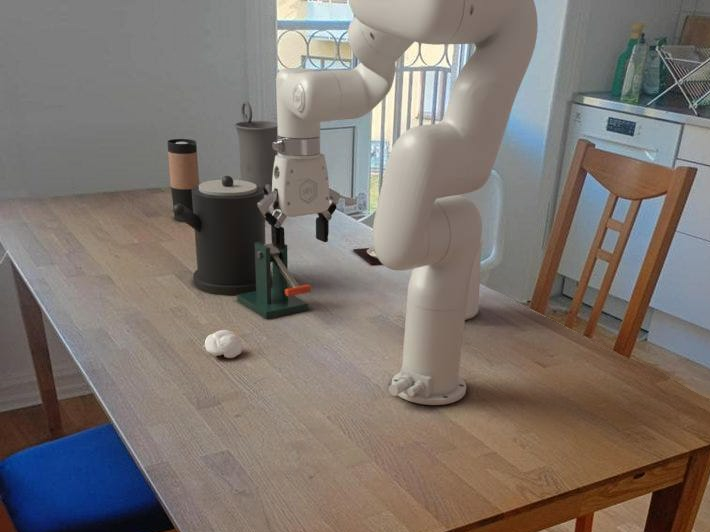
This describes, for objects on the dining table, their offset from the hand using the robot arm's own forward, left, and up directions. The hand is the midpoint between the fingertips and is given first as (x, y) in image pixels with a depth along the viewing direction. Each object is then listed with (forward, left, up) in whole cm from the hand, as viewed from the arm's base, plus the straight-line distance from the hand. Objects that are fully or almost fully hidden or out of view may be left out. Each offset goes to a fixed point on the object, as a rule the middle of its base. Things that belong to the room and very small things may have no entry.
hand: (300, 244), depth 148 cm
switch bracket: (+3, +10, -16) cm, 19 cm away
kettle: (+7, +29, -16) cm, 33 cm away
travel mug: (+39, +72, -16) cm, 84 cm away
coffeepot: (+24, -21, -16) cm, 36 cm away
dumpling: (-22, 0, -16) cm, 27 cm away
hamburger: (+48, +12, -16) cm, 52 cm away
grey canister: (+78, +81, -16) cm, 114 cm away
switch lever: (+2, +6, -8) cm, 10 cm away
